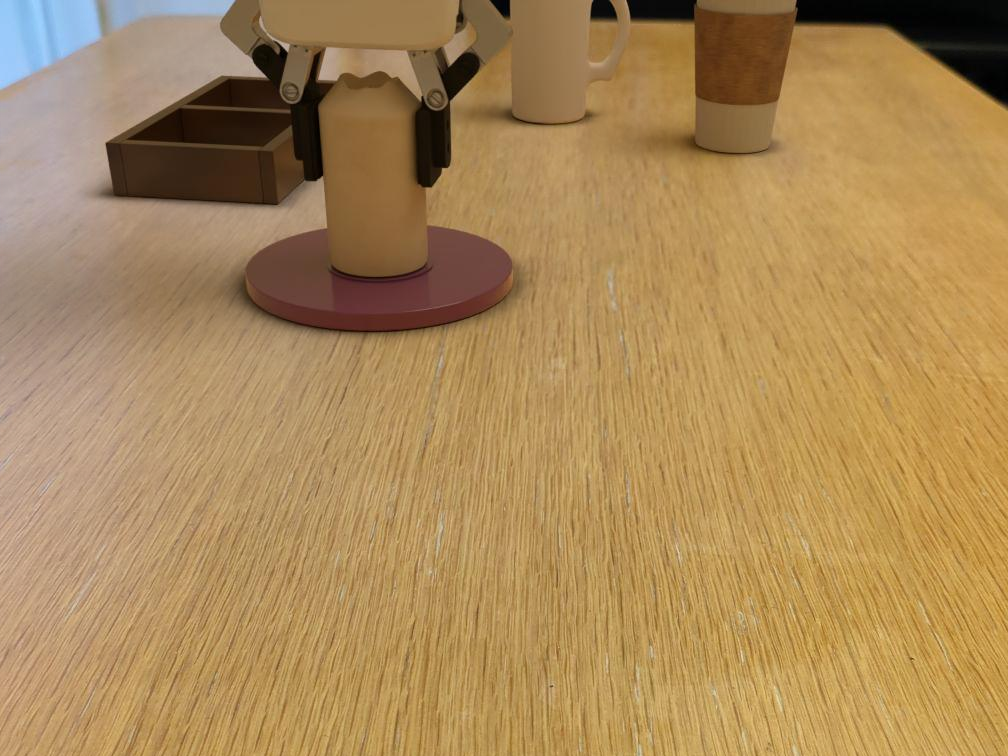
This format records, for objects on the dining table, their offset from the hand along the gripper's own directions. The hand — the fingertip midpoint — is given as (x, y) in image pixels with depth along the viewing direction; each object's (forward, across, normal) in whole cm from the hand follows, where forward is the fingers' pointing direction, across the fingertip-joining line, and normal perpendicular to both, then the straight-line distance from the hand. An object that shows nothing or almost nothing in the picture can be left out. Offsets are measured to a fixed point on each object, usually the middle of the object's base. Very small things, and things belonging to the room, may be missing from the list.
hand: (374, 174), depth 66 cm
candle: (+5, 0, 0) cm, 5 cm away
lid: (+6, 0, 0) cm, 6 cm away
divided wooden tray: (+6, +16, -24) cm, 29 cm away
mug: (+6, -6, -42) cm, 43 cm away
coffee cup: (+6, -20, -35) cm, 41 cm away
